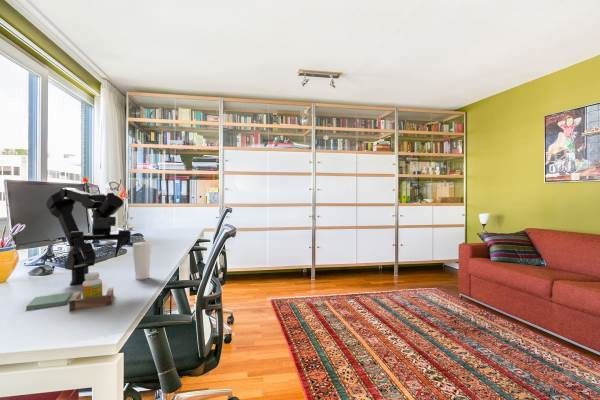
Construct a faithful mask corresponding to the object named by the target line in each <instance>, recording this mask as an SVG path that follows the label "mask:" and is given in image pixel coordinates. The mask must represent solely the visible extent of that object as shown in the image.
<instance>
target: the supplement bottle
mask: <svg viewBox="0 0 600 400" xmlns="http://www.w3.org/2000/svg"><path fill="white" fill-rule="evenodd" d="M85 279H86V281H84V282H83V283H82V286H81V288H82V298H89V297H96V296H103V280H102V279H101V278H100V273H99V272H89V273H88V274H85Z"/></svg>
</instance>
